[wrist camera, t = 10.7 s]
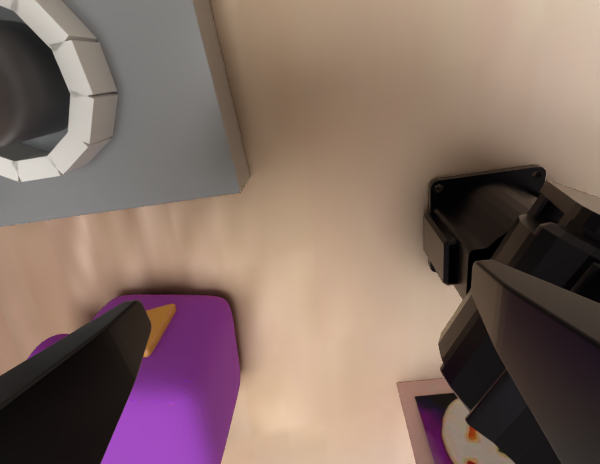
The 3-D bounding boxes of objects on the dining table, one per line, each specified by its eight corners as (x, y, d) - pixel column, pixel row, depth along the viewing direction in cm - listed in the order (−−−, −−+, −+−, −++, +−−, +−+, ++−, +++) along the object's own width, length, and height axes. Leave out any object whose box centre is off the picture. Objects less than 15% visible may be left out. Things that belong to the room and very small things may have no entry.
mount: (180, -123, 15) (116, -210, 10) (250, 176, 21) (230, 209, 16) (-155, -38, 17) (-338, -77, 13) (-5, 214, 23) (-90, 253, 19)
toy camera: (55, 294, 26) (-80, 413, 17) (223, 266, 24) (168, 383, 16) (117, 390, 31) (34, 523, 22) (262, 373, 29) (237, 511, 20)
